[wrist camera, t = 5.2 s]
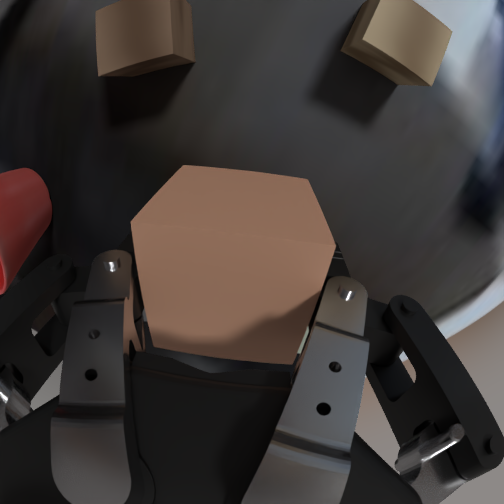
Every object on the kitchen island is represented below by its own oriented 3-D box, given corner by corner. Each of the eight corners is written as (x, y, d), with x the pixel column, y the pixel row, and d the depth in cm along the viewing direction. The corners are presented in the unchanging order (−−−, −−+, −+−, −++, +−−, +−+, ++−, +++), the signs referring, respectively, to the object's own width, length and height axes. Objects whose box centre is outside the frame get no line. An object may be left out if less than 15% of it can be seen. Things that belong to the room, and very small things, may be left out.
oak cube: (340, 51, 14) (362, 39, 10) (362, 4, 12) (387, -16, 8) (397, 84, 15) (431, 86, 11) (417, 38, 13) (452, 31, 8)
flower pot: (75, 187, 21) (6, 241, 13) (52, 258, 26) (6, 313, 18) (15, 135, 18) (-53, 168, 9) (1, 210, 22) (-49, 251, 14)
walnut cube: (133, 76, 16) (98, 76, 12) (129, 23, 13) (95, 11, 9) (195, 62, 16) (173, 53, 11) (191, 6, 13) (169, -16, 9)
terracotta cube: (183, 265, 13) (153, 346, 9) (183, 165, 10) (130, 221, 6) (285, 277, 13) (292, 364, 9) (307, 179, 10) (336, 245, 6)
